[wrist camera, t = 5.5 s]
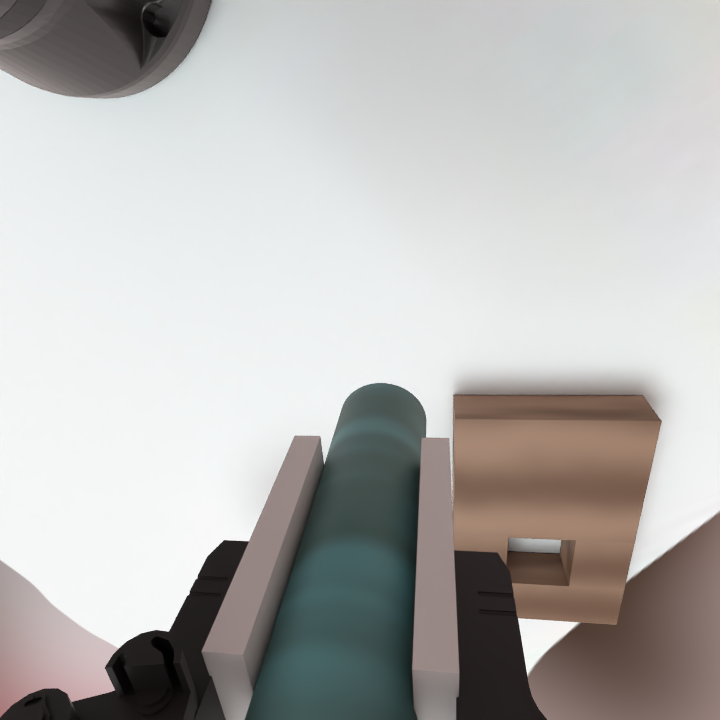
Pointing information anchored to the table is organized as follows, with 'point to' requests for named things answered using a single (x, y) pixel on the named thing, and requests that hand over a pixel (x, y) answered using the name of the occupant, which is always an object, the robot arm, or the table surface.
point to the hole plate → (554, 494)
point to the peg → (353, 575)
